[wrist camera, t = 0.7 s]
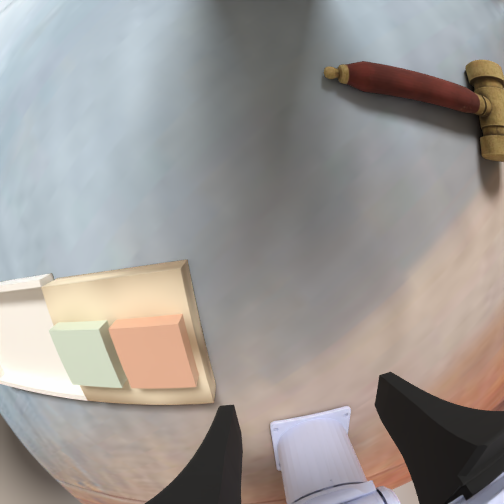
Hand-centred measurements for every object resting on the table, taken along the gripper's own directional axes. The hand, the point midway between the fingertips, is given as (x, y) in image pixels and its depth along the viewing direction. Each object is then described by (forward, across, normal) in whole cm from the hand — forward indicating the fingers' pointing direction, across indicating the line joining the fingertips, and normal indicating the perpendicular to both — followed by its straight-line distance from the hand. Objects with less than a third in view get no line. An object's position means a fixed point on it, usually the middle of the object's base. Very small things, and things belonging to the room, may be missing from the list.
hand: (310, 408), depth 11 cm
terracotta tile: (+7, +9, 0) cm, 12 cm away
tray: (+10, +26, 0) cm, 28 cm away
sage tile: (+7, +15, 0) cm, 17 cm away
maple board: (+10, +12, 0) cm, 16 cm away
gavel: (+10, -16, -17) cm, 26 cm away
